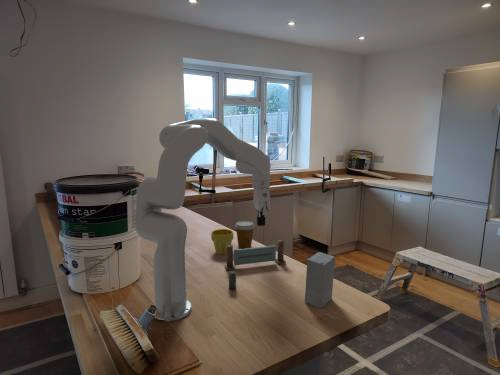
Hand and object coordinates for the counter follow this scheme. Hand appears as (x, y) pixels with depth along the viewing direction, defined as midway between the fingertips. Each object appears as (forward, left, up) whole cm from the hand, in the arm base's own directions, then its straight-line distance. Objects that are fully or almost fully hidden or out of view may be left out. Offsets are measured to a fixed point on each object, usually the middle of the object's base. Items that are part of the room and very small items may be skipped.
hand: (261, 225), depth 142 cm
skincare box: (-39, -8, -16) cm, 43 cm away
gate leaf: (-5, +4, -15) cm, 16 cm away
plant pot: (+15, +14, -16) cm, 26 cm away
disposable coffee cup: (+19, +2, -16) cm, 25 cm away
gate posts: (-13, +5, -16) cm, 22 cm away
